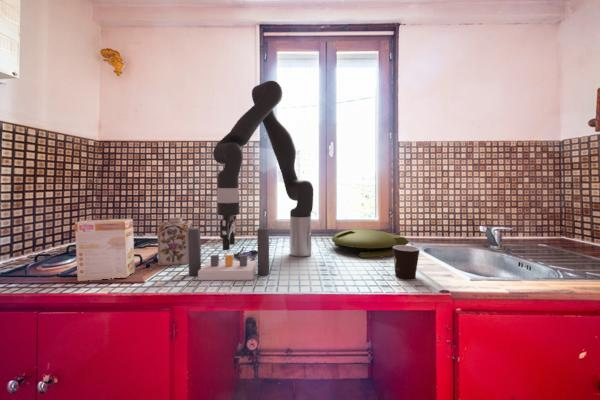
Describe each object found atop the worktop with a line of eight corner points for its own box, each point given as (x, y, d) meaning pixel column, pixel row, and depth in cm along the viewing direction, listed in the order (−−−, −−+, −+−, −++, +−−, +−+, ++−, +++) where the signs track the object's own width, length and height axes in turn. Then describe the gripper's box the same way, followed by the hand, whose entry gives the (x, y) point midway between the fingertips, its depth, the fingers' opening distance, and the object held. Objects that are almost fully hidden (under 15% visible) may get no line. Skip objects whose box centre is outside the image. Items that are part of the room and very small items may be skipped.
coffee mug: (416, 282, 92) (417, 252, 91) (389, 278, 96) (389, 248, 96) (422, 273, 101) (422, 245, 101) (397, 269, 106) (398, 242, 105)
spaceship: (380, 241, 158) (380, 224, 157) (419, 255, 129) (420, 233, 128) (322, 245, 147) (322, 227, 146) (350, 261, 118) (351, 238, 117)
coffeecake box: (135, 272, 101) (133, 218, 100) (126, 279, 94) (124, 221, 93) (89, 274, 99) (86, 219, 98) (76, 281, 92) (73, 222, 91)
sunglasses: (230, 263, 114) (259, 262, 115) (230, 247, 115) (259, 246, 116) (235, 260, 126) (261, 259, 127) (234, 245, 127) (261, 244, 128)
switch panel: (257, 268, 106) (256, 251, 106) (252, 279, 94) (252, 260, 94) (208, 268, 106) (208, 251, 105) (198, 280, 94) (197, 260, 93)
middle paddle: (233, 264, 101) (233, 254, 100) (232, 266, 99) (232, 255, 99) (226, 264, 100) (226, 254, 100) (225, 266, 99) (225, 255, 99)
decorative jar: (157, 266, 109) (156, 219, 108) (165, 258, 121) (164, 216, 119) (190, 264, 112) (189, 219, 111) (194, 256, 123) (193, 215, 122)
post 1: (202, 272, 102) (201, 228, 101) (199, 276, 98) (198, 230, 97) (191, 272, 102) (190, 228, 100) (187, 276, 98) (186, 230, 97)
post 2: (269, 271, 102) (269, 228, 101) (268, 275, 98) (268, 229, 97) (258, 272, 102) (258, 228, 101) (257, 275, 98) (256, 230, 97)
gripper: (235, 202, 91) (235, 252, 92) (242, 199, 106) (243, 242, 107) (211, 202, 91) (212, 252, 92) (222, 199, 105) (223, 242, 106)
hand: (229, 247), depth 99 cm, fingers open, 8 cm apart
